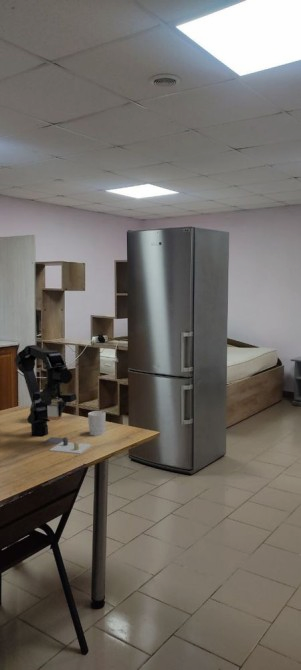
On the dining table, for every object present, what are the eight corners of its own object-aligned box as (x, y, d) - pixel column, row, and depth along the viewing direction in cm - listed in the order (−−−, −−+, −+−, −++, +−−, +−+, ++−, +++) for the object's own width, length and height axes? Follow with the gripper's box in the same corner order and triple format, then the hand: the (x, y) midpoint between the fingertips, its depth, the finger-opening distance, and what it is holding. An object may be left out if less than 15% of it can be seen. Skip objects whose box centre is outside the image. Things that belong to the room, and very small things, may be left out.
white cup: (103, 437, 223) (102, 415, 223) (86, 437, 225) (85, 415, 224) (108, 432, 231) (107, 411, 230) (91, 432, 233) (91, 410, 232)
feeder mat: (42, 443, 216) (42, 442, 216) (51, 438, 224) (51, 437, 224) (58, 445, 214) (58, 444, 214) (67, 439, 221) (67, 438, 221)
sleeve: (47, 419, 215) (47, 405, 215) (52, 417, 220) (52, 403, 219) (57, 420, 214) (56, 406, 213) (61, 417, 218) (61, 404, 218)
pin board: (49, 452, 205) (48, 442, 205) (62, 444, 215) (61, 435, 215) (80, 455, 201) (80, 445, 200) (92, 446, 211) (91, 437, 211)
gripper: (24, 383, 211) (25, 419, 212) (64, 385, 205) (65, 422, 206) (38, 378, 221) (39, 413, 223) (76, 380, 215) (77, 416, 217)
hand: (54, 416), depth 217 cm, fingers closed on sleeve, 4 cm apart
